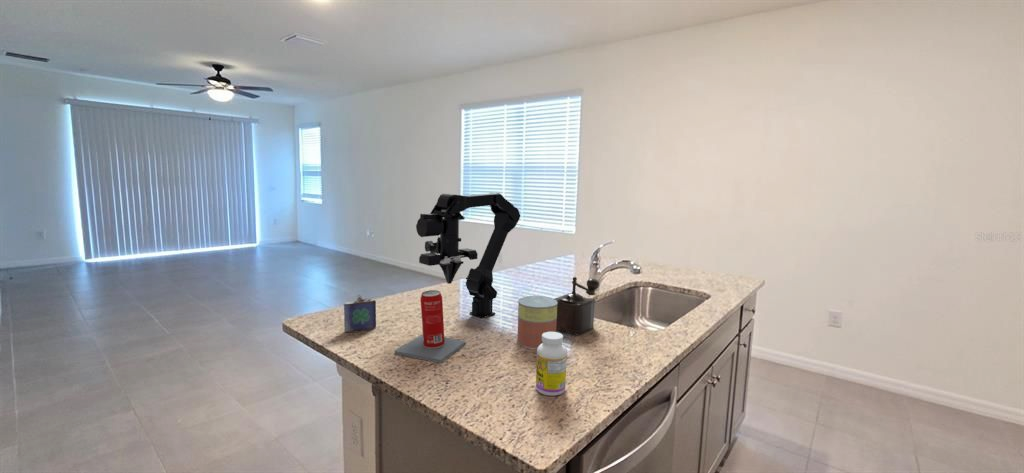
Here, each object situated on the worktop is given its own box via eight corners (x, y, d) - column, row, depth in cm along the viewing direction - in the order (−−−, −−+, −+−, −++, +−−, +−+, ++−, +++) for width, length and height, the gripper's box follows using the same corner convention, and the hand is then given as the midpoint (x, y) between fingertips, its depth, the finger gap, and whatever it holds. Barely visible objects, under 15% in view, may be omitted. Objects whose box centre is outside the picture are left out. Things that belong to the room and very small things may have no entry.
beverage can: (448, 344, 123) (449, 291, 121) (433, 351, 118) (433, 296, 116) (432, 339, 126) (432, 287, 124) (416, 346, 121) (416, 293, 119)
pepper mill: (547, 329, 140) (550, 272, 137) (566, 320, 148) (568, 267, 146) (592, 341, 130) (595, 281, 128) (609, 331, 139) (612, 275, 136)
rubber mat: (423, 336, 131) (423, 333, 131) (466, 343, 126) (466, 341, 126) (394, 353, 118) (394, 350, 118) (440, 362, 113) (440, 359, 113)
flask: (345, 333, 131) (344, 298, 130) (343, 330, 134) (342, 295, 132) (377, 329, 136) (376, 294, 135) (374, 326, 138) (374, 292, 137)
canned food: (564, 341, 129) (565, 301, 128) (539, 352, 121) (540, 309, 119) (534, 331, 137) (535, 293, 135) (509, 341, 129) (510, 300, 127)
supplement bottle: (533, 383, 103) (535, 329, 102) (562, 382, 104) (564, 329, 102) (537, 397, 97) (539, 340, 95) (568, 396, 97) (570, 340, 96)
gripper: (457, 229, 151) (457, 274, 153) (409, 233, 138) (409, 282, 140) (478, 233, 143) (478, 280, 145) (429, 238, 130) (429, 290, 132)
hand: (449, 283), depth 141 cm, fingers closed
